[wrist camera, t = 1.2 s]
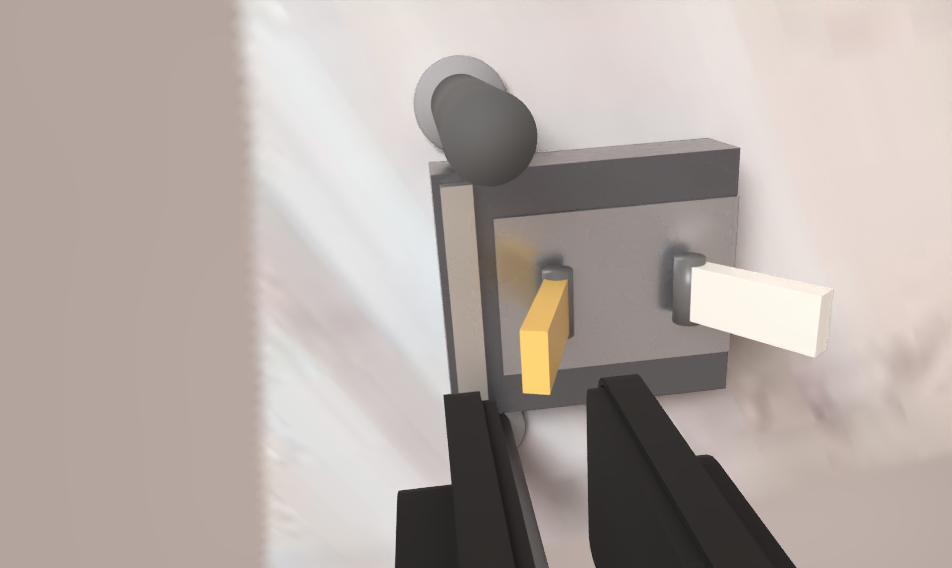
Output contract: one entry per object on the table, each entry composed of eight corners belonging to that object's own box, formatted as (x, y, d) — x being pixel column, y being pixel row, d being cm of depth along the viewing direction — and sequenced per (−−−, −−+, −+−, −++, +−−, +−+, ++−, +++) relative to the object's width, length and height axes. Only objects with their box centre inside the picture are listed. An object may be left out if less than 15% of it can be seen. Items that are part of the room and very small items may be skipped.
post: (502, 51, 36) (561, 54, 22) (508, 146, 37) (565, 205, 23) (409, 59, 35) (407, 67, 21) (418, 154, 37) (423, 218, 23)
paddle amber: (574, 265, 35) (552, 325, 28) (576, 328, 36) (554, 401, 29) (544, 264, 35) (514, 323, 28) (546, 327, 36) (518, 398, 29)
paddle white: (685, 250, 36) (836, 281, 30) (683, 312, 37) (827, 353, 31) (667, 257, 35) (820, 291, 29) (665, 321, 36) (812, 365, 30)
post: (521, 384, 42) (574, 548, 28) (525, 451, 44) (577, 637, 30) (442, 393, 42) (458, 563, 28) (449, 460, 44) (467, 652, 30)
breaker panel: (707, 137, 38) (747, 150, 34) (697, 358, 43) (731, 394, 38) (428, 162, 37) (431, 178, 33) (450, 385, 42) (454, 426, 37)
